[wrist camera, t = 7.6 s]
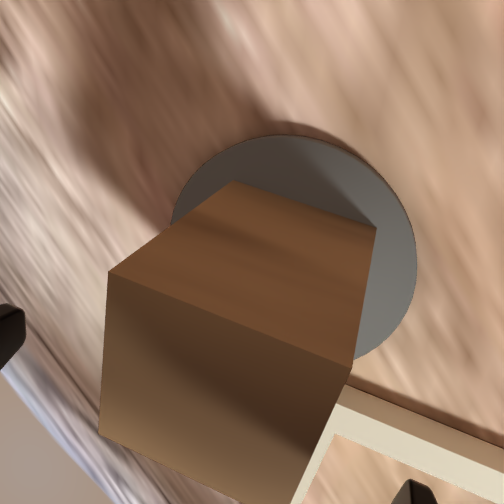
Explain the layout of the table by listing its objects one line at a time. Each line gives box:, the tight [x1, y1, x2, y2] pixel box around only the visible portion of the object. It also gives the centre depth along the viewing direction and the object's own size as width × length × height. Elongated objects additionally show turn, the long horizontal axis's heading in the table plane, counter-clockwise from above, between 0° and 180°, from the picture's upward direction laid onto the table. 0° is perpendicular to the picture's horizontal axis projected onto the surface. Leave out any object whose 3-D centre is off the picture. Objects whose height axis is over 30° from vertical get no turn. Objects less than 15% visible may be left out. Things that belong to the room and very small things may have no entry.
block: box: [98, 180, 377, 504], centre depth 12 cm, size 5×5×7 cm
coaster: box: [170, 135, 417, 360], centre depth 15 cm, size 9×9×1 cm
